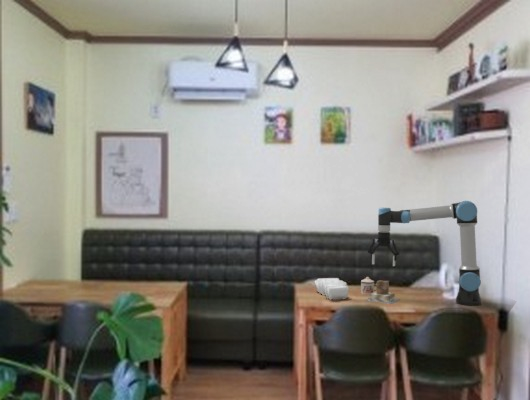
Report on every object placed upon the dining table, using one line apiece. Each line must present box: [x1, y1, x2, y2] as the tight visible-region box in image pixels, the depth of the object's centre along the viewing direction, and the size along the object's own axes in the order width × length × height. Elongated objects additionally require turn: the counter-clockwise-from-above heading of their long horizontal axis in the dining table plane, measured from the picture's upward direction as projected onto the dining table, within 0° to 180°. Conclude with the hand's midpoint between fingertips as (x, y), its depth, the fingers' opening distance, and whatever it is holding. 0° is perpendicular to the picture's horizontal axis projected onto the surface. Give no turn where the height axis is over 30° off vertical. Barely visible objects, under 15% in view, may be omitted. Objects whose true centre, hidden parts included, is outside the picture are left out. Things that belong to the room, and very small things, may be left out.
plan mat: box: [364, 297, 400, 304], centre depth 351 cm, size 18×16×1 cm
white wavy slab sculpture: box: [314, 277, 350, 300], centre depth 363 cm, size 35×16×10 cm, turn 9°
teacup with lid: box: [360, 276, 377, 296], centre depth 371 cm, size 12×9×12 cm
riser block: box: [369, 291, 396, 304], centre depth 351 cm, size 12×12×4 cm
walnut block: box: [375, 279, 390, 295], centre depth 351 cm, size 6×6×8 cm
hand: (383, 265), depth 351 cm, fingers open, 13 cm apart
